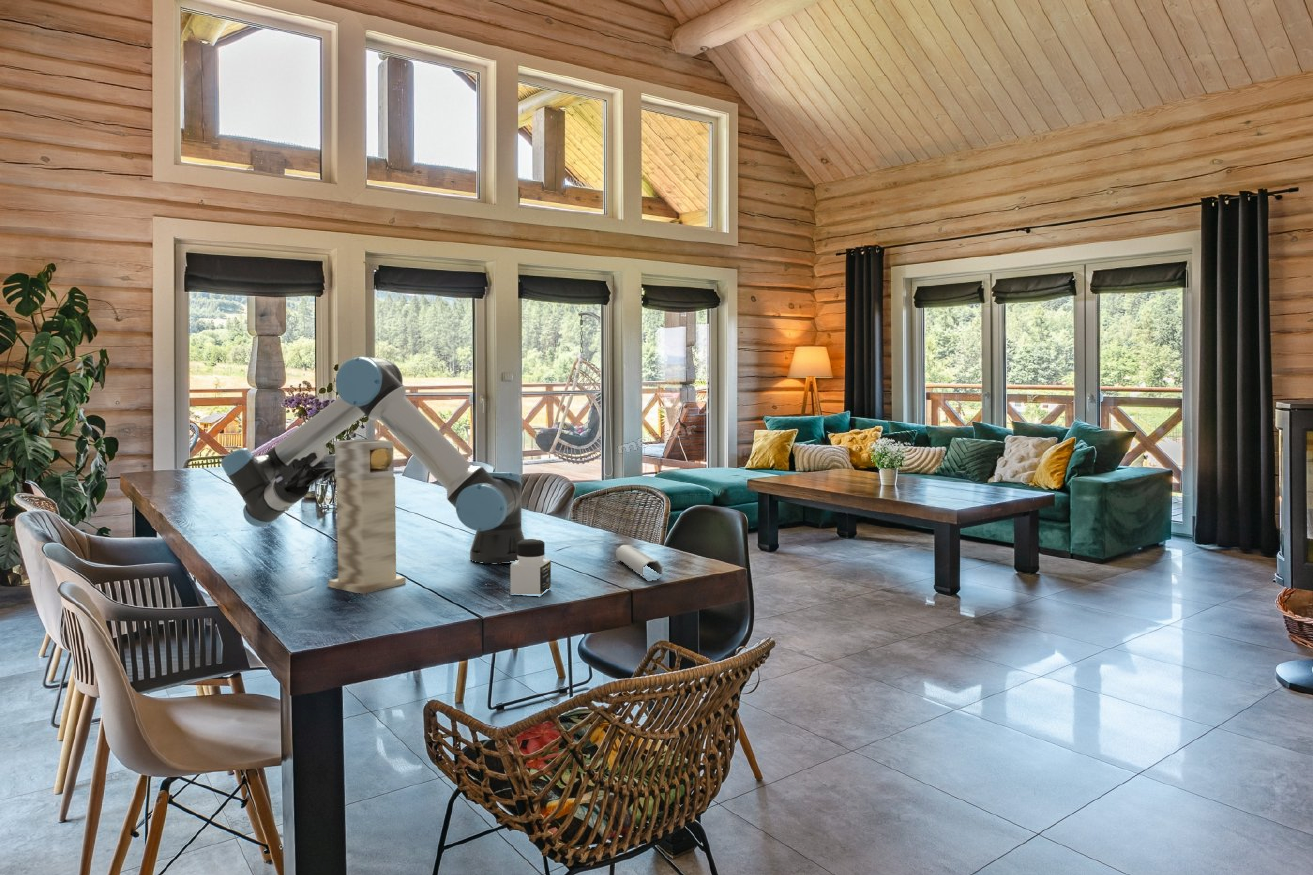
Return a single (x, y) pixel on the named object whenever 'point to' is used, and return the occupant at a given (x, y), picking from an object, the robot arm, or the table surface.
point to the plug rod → (377, 460)
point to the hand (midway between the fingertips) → (339, 447)
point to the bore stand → (365, 519)
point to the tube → (637, 559)
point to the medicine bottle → (530, 568)
